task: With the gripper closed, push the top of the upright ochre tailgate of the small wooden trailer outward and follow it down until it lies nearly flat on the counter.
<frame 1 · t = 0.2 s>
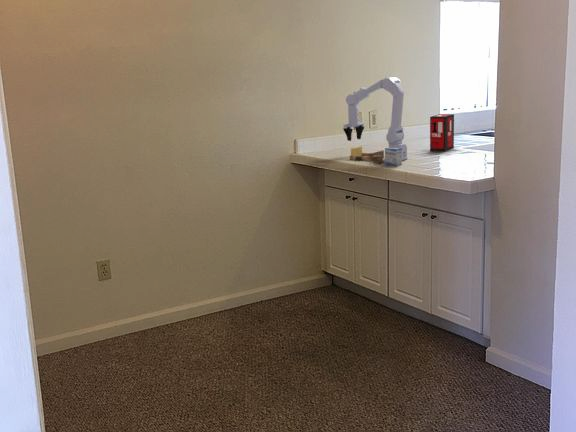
hand: (354, 139, 363), 10 cm above the counter, tool pointing down, fingers open, 7 cm apart
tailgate: (356, 153, 356), point 4 cm above the counter, hinge at 0.0°
trailer bed: (367, 160, 352), on the counter
walnut crate: (377, 163, 340), on the counter
medicine box: (393, 165, 333), on the counter
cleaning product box: (442, 149, 379), on the counter
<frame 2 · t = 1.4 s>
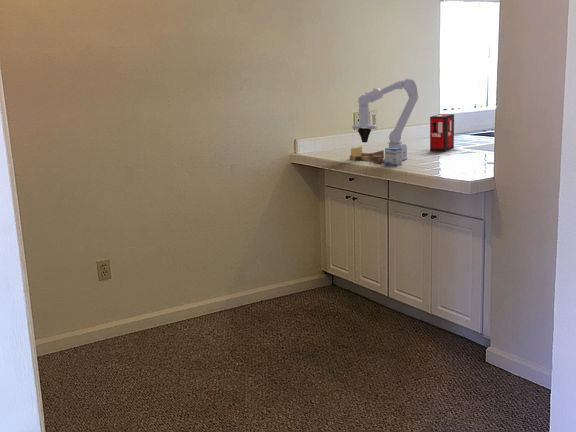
hand: (364, 142, 351), 10 cm above the counter, tool pointing down, fingers closed
nothing on the counter moved.
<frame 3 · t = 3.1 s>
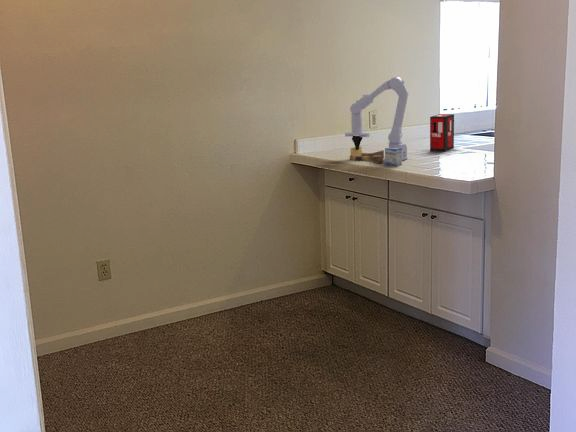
hand: (357, 149, 355), 6 cm above the counter, tool pointing down, fingers closed, pressing on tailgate
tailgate: (356, 153, 356), point 4 cm above the counter, hinge at 3.1°, touching gripper
everything else where it was.
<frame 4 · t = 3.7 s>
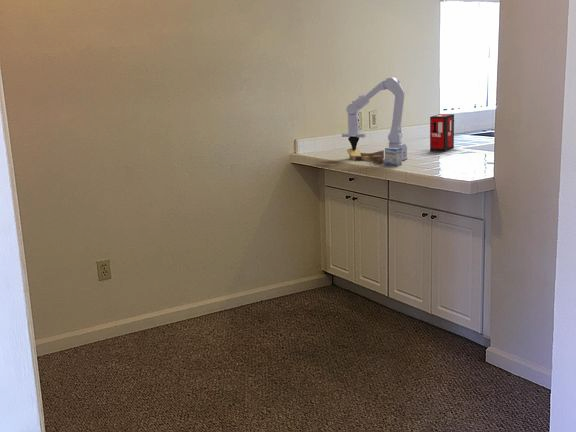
hand: (354, 150, 357), 5 cm above the counter, tool pointing down, fingers closed, pressing on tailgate
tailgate: (354, 153, 357), point 3 cm above the counter, hinge at 27.9°, touching gripper
everything else where it was.
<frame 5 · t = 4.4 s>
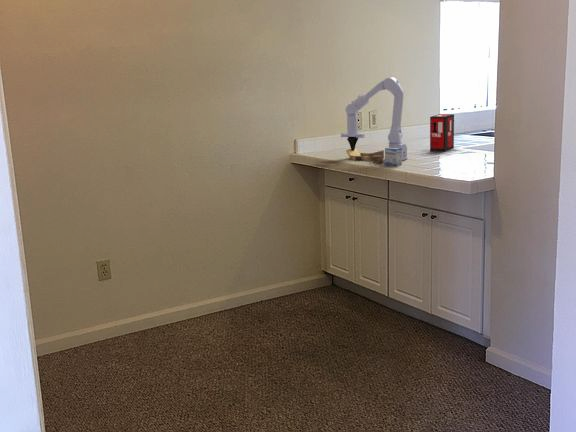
hand: (352, 150, 357), 5 cm above the counter, tool pointing down, fingers closed, pressing on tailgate
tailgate: (354, 154, 357), point 3 cm above the counter, hinge at 36.5°, touching gripper
everything else where it was.
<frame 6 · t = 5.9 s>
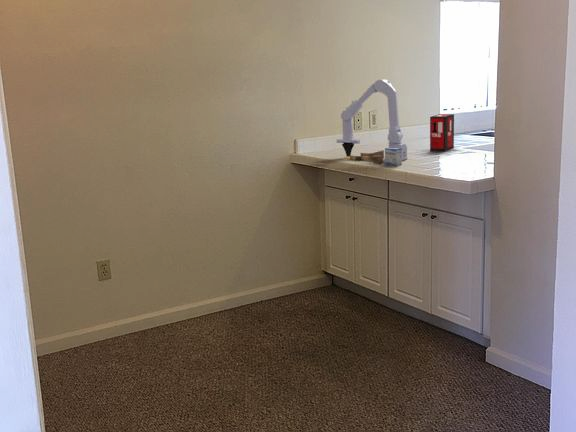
hand: (348, 156, 360), 2 cm above the counter, tool pointing down, fingers closed
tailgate: (352, 157, 358), point 1 cm above the counter, hinge at 89.9°
everything else where it was.
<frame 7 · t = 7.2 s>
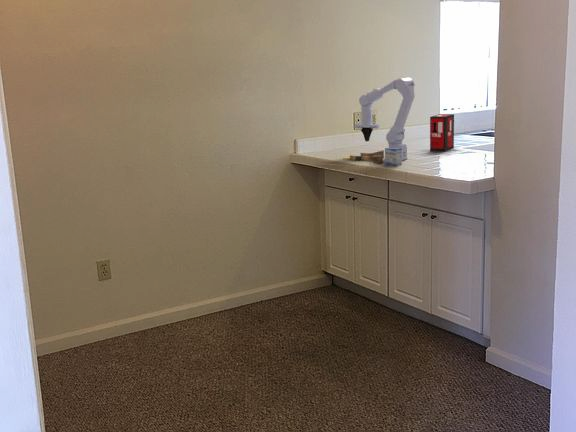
hand: (367, 141, 359), 9 cm above the counter, tool pointing down, fingers closed
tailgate: (352, 157, 358), point 1 cm above the counter, hinge at 90.3°
everything else where it was.
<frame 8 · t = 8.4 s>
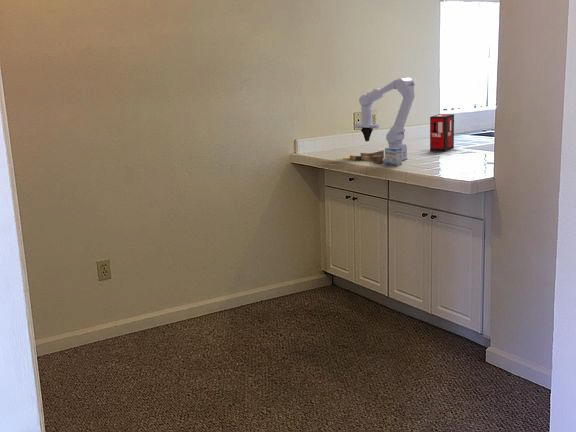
hand: (367, 141, 359), 9 cm above the counter, tool pointing down, fingers closed
nothing on the counter moved.
at the end: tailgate at +90° (first picture: +0°) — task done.
